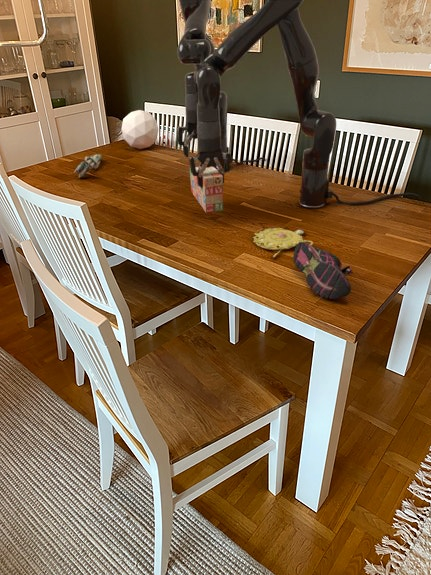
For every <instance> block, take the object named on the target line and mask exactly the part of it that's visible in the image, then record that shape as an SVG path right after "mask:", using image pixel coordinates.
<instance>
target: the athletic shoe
mask: <svg viewBox="0 0 431 575" xmlns="http://www.w3.org/2000/svg"><path fill="white" fill-rule="evenodd" d="M292 261H293V264H294V266H295V267H296V269H298V270H299V271H300V272H302V273H304V274H305V276H306V282H307V285H308V286H309V288H310V289H312V292H313V293H314V294H315V295H317V296H319V297H321V298H324V299H330V300H337V299H341V298H346V297H348V296H349V295H350V294H351V292H352V287H351V284H350V282H349V280H348V278H347V277H346V275H351V274H354V272H353V269H352V268H351V266H350V265H347V266H345V267H343V266H342V265H343V264H342V261H341V260H340V258H339V257H338V256H336V255H334V254H333V253H331V252H329V251H327V250H323V249H321V248H318V247H315V246H313V245H312V246H310V243H308V242H299V243H298V244H297V245H296V246H295V247H294V252H293V256H292ZM342 267H343V268H342Z"/></svg>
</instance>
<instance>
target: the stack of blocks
mask: <svg viewBox="0 0 431 575" xmlns="http://www.w3.org/2000/svg"><path fill="white" fill-rule="evenodd" d="M195 167H196V171H198V169H199V166H195ZM202 177H203V188H200V186H199V185H198V183H197V176H193V174H192V173H191V168H190V167H189V178H190V191H191V193H192V195H193V197H194V198H195V200H196V201H197V202H198V203H199V204H200V206H201V208H202V209H203V211H204V212H205V214H208V213H214V212H216V213H217V212H221V211H224V195H223V194H224V183H223V176H222V175H221V174H220V172H219V171H217V170H216V169H215V168H214V167H209V168H206V169H205V171H204V172H203V175H202Z"/></svg>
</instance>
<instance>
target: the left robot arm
mask: <svg viewBox="0 0 431 575" xmlns="http://www.w3.org/2000/svg"><path fill="white" fill-rule="evenodd" d="M178 2H179V7H180V10H181V14H182V18H183V21H184V33H183V35H182V36H181V38H180V40H179V42H178V45H177V49H176V52H177V58H178V61H180V63H181V64H183V65H193V66H194V71H191V72H187V73H186V74H185V76H184V92H185V96H184V97H185V98H184V108H185V122H186V123H185V126H180V125H178V126H177V127H176V128H177V129H176V131H177V136H176V137H177V140H176V142H177V144H178V145H179V146H181V147H182V149H183V150H182V152H183V155H184V156H185V158H189V157H190V156H189V144H190V143H191V141H192V140H198V139H197V103H198V86H197V85H196V83H195V81H194V72H195V70H196V68H197V67H198V66H199V65H200V64H201V63H202V62H203V61H204V60H205V59H206V58H207V57H208V56H209V55H211V54H212V53H213V52H214V51H215V50H216V47H215V44H214V43H213V41H212V40H211V39H210V37H209V36H208V35H207V24H208V21H209V17H210V13H211V8H212V0H178ZM228 103H229V101H228V94H227V93H226V92H225V91H221V90H220V99H219V111H220V126H221V151H222V153H226V152H228V153H230V148H229V146H228V108H229V106H228V105H229V104H228ZM185 131H186V132H187V134H186V136H185V138H184V140H183V134H184V133H185ZM260 160H262V161H267V159H266V158H265V157H258V158H256V159H244V160H242V161H240V162H238V160H237V159H235V158H233V157H232V156H231V161H230V165H231V164H233V162H234V163H235V164H236V165H239V166H240V165H242V164H244V163H255V162H258V161H260ZM219 163H220V164H221V166H222V168H224V163H225V159H224V158H223V157H222V158H221V160H220V162H219ZM214 168H215V169H216V170H217V171H219V170H218V168H217V167H214Z"/></svg>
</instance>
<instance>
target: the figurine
mask: <svg viewBox="0 0 431 575" xmlns="http://www.w3.org/2000/svg"><path fill="white" fill-rule="evenodd" d="M102 161H103V156H102V154H94V155H91V156H88V155H86V156H84V160H82V161H81V162H80V163H79V164H78V166H76V168H75V170H74V171H73V174H74V175H75V176H76V175H77V174H78V176H77V177H78V179H81V178H82V177H83V176H85V174H87V173H88V172H89V171H90V170H92V169H95V170H97V169H99V166H100V164H101V162H102Z"/></svg>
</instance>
